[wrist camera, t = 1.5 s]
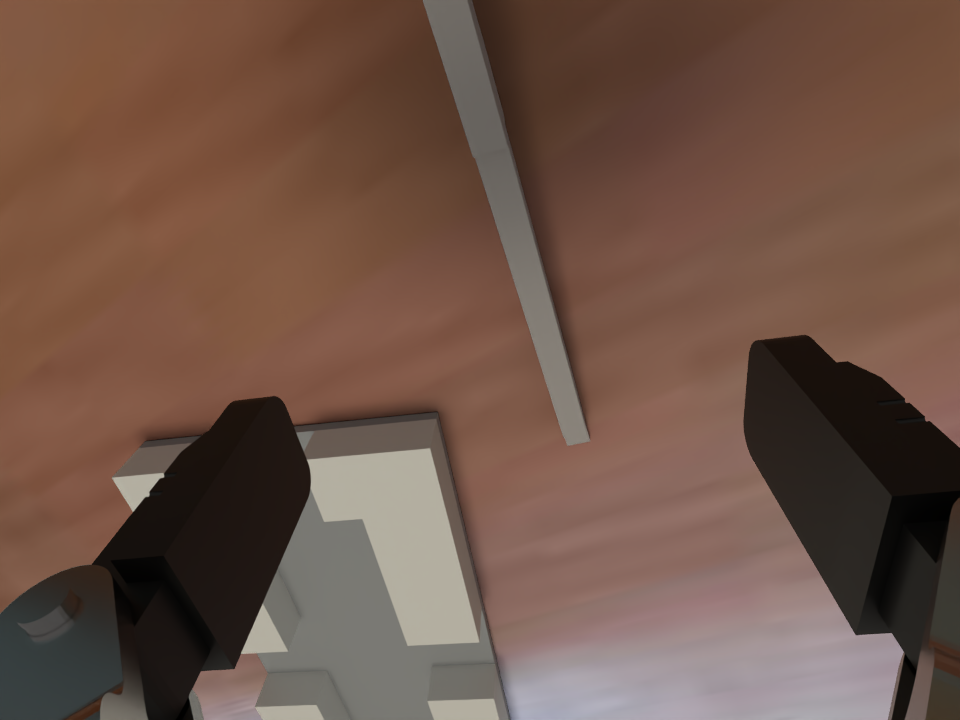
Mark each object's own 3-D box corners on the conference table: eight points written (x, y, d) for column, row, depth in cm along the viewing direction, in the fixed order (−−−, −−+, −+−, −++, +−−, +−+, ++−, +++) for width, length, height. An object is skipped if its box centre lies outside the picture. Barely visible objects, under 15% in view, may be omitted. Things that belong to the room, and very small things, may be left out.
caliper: (401, -135, 16) (339, -230, 10) (438, -151, 15) (395, -257, 10) (566, 439, 25) (580, 552, 20) (590, 434, 25) (612, 547, 19)
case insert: (437, 412, 24) (430, 448, 22) (521, 764, 39) (521, 807, 37) (144, 441, 26) (111, 477, 24) (329, 768, 41) (318, 809, 39)
